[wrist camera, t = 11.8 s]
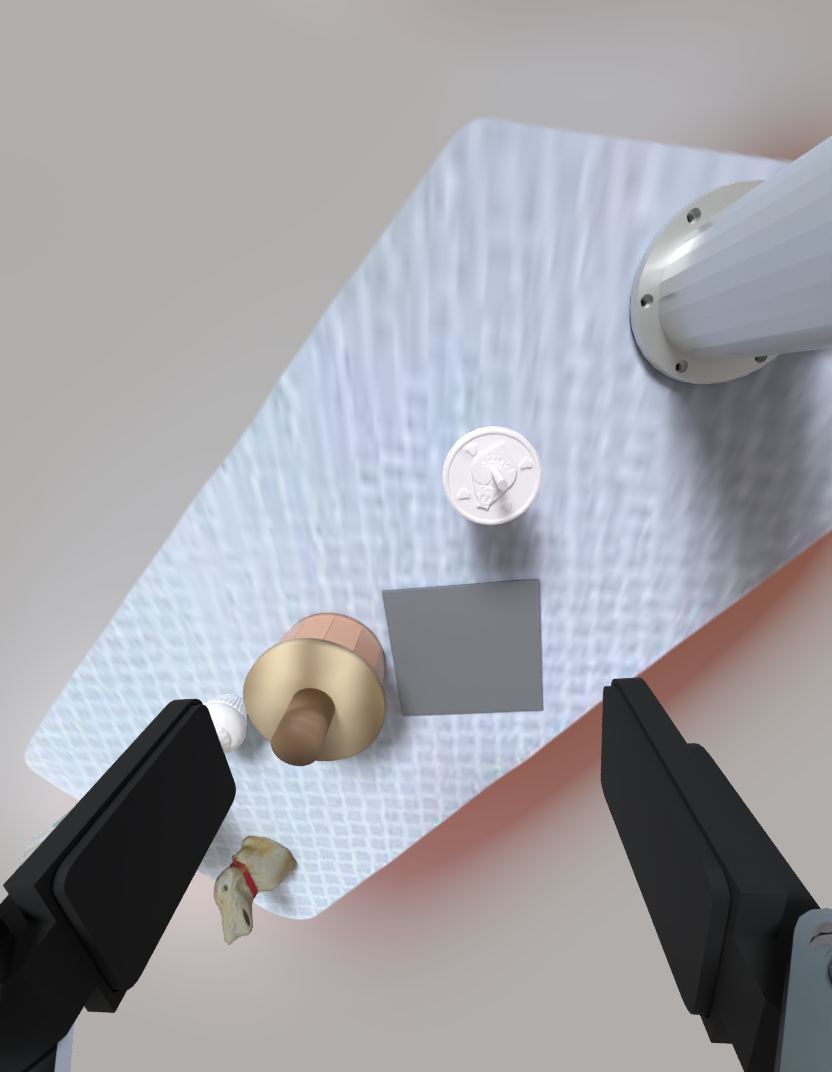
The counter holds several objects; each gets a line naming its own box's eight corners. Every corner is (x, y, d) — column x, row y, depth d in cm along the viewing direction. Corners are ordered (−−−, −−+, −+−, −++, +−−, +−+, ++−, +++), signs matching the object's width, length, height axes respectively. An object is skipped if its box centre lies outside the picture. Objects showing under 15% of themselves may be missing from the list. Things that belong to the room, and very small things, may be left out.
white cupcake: (200, 711, 47) (159, 762, 41) (216, 674, 45) (176, 721, 39) (248, 733, 48) (216, 788, 41) (267, 698, 46) (236, 749, 39)
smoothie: (529, 429, 34) (579, 451, 21) (505, 501, 36) (537, 562, 23) (455, 409, 34) (458, 419, 21) (435, 482, 36) (427, 533, 23)
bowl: (376, 609, 41) (364, 643, 35) (391, 697, 44) (383, 742, 39) (272, 616, 42) (245, 651, 36) (295, 702, 46) (273, 745, 40)
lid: (373, 632, 35) (360, 674, 30) (395, 749, 39) (387, 804, 34) (231, 643, 36) (195, 684, 31) (267, 754, 40) (241, 807, 35)
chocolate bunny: (262, 824, 53) (222, 917, 43) (301, 860, 55) (270, 958, 45) (232, 838, 54) (187, 931, 45) (271, 873, 56) (235, 970, 47)
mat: (538, 578, 38) (539, 581, 38) (542, 706, 43) (543, 709, 43) (382, 590, 40) (382, 593, 40) (403, 712, 45) (402, 715, 44)
